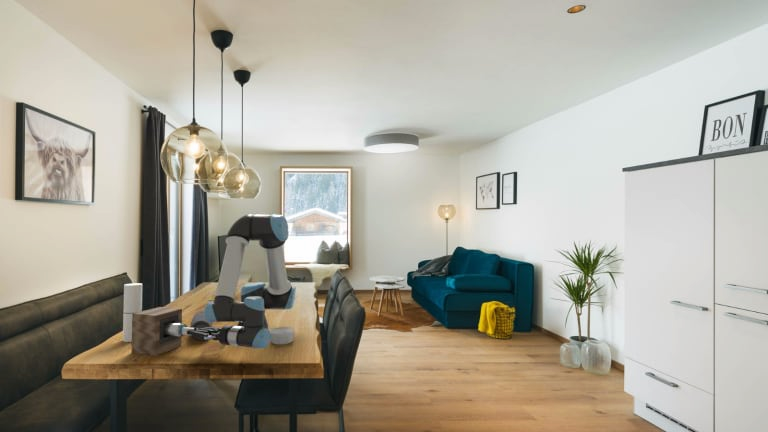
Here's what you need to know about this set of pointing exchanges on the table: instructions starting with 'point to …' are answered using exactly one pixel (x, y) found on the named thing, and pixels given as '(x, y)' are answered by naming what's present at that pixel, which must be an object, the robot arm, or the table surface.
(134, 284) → the cylindrical container
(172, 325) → the peg
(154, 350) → the housing
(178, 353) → the table surface
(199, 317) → the bluetooth speaker
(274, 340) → the ramekin
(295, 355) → the table surface
